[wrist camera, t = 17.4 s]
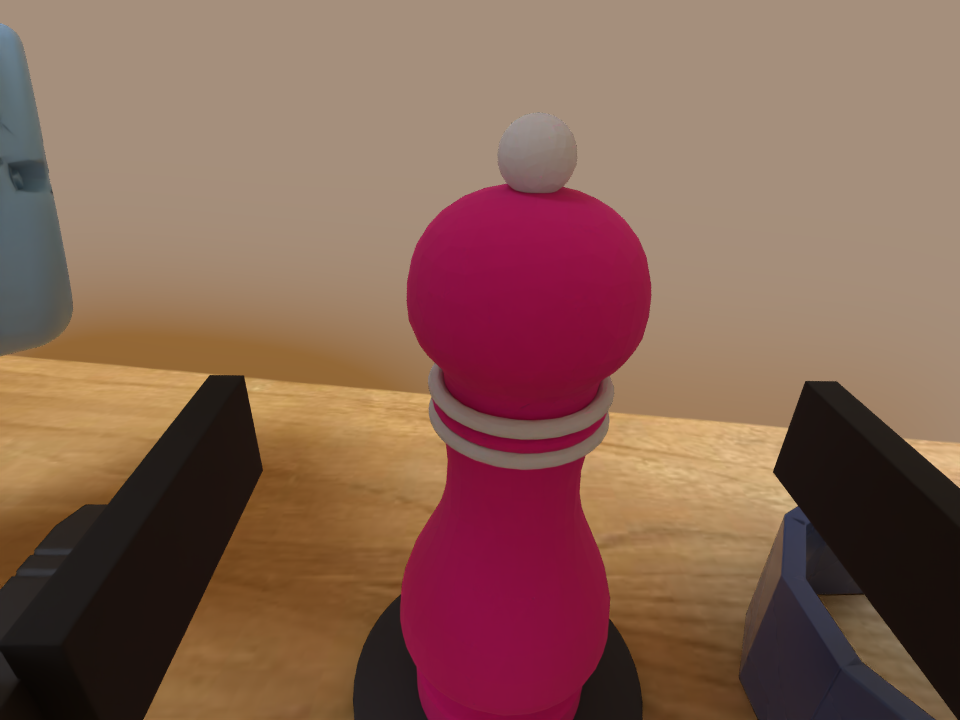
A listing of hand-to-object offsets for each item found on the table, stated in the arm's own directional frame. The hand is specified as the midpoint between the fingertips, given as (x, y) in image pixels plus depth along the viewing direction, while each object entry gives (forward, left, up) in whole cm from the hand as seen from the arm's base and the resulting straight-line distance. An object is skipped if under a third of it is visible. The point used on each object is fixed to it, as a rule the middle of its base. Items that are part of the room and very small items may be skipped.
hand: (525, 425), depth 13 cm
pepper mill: (-1, +2, -13) cm, 14 cm away
